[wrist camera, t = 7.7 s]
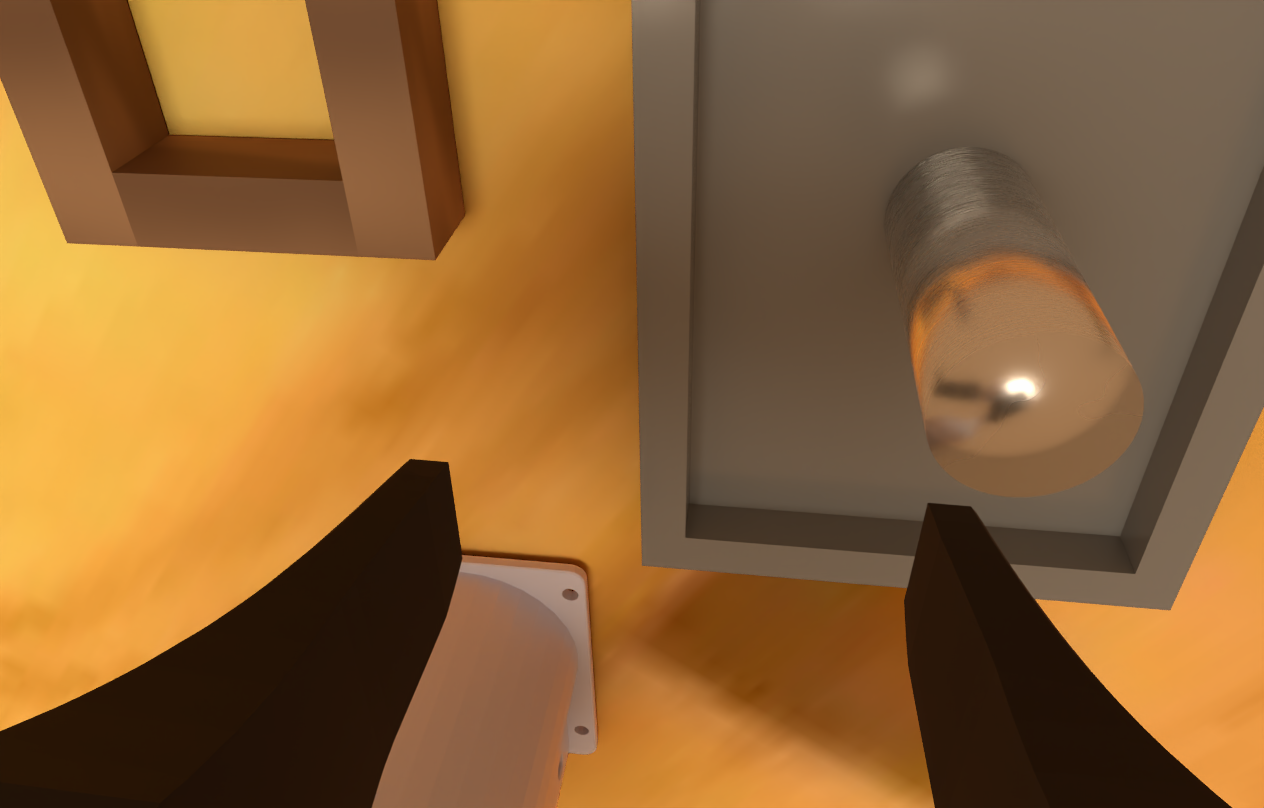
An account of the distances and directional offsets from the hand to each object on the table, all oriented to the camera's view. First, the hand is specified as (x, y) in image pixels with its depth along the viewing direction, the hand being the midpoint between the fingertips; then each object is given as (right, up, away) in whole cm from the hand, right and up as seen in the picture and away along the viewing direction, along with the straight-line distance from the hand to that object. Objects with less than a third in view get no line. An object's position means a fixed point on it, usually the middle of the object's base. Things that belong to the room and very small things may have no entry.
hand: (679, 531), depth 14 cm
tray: (+7, +6, +7) cm, 11 cm away
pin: (+6, +6, +6) cm, 11 cm away
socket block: (-9, +10, +7) cm, 16 cm away
